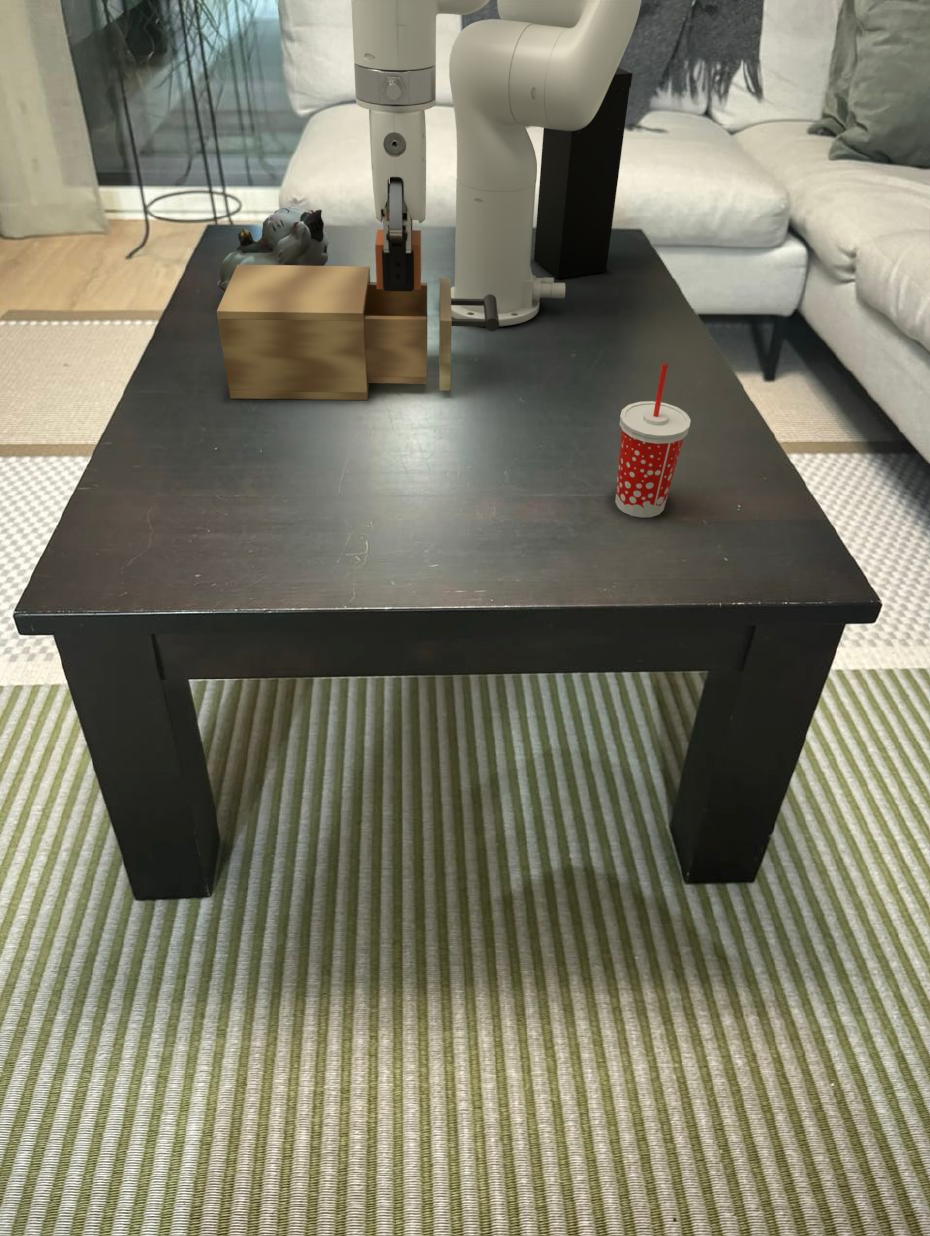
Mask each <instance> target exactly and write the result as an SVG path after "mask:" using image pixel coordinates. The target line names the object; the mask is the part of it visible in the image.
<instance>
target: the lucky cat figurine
mask: <svg viewBox="0 0 930 1236" xmlns="http://www.w3.org/2000/svg"><path fill="white" fill-rule="evenodd" d="M322 212H323V210H322V209H316V210H315V211H314V210H313V209H310V210H309V208H303V207H300V206H294V205H293V206H286V207H285V206H283V207H279V209H276V210H275V211H274V213H272V214H270V215H268V217H266V218H265V219H264V221H263V222H262V229H261V237H260V238H259V240H257V241H255V240H254V238H253V236H252V233H251V231H250V230H247V229H246V228H241V231H240V232H238V234H237V239H238V241H239V246H238V247H236V250H235V251H233V252H231V253H229V254H228V255H227V256H226V257H225V258H224V259H223V260H222V263H221V265H220V270H219V278H220V280H219V281H217V284H216V285H217V287H219V289H221V290H222V291H223V292H225V291H226V289H227V287H228V285H229V282H230V280H231V278H232V276H233V273H234V271H235V269H236V267H237V265H297V266H326V264H327V262H328V261H329V253H328V247H329V235H328V234H327V232H326V231H325V229H324V227H325V226H324V225H325V223H324V220H323V218H322Z"/></svg>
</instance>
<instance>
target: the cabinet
mask: <svg viewBox="0 0 930 1236" xmlns="http://www.w3.org/2000/svg"><path fill="white" fill-rule="evenodd" d="M369 282H371V266H353V265H351V266H350V265H324V266H297V265H237V267H236V269H235V271H234V273H233V276H232V278H231V280H230V282H229V285H228V287H227V289H226V291H224V294H223V296H222V298H221V299H220V302H219V305H218V307H217V310H216V315H217V322H218V329H219V335H220V341H221V348H222V354H223V361H224V366H225V372H226V373H225V374H226V379H227V384H228V391H229V398H230V399H234V400H235V399H236V400H237V399H240V400H241V399H242V400H245V399H247V400H248V399H249V400H251V399H253V400H331V401H332V400H333V401H338V400H339V401H343V400H344V401H367V400H368V398H369V397H368V395H369V390H370V389H369V388H370V383H367V371H366V351H365V331H364V312H365V305H366V299H367V292H368V285H369Z"/></svg>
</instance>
